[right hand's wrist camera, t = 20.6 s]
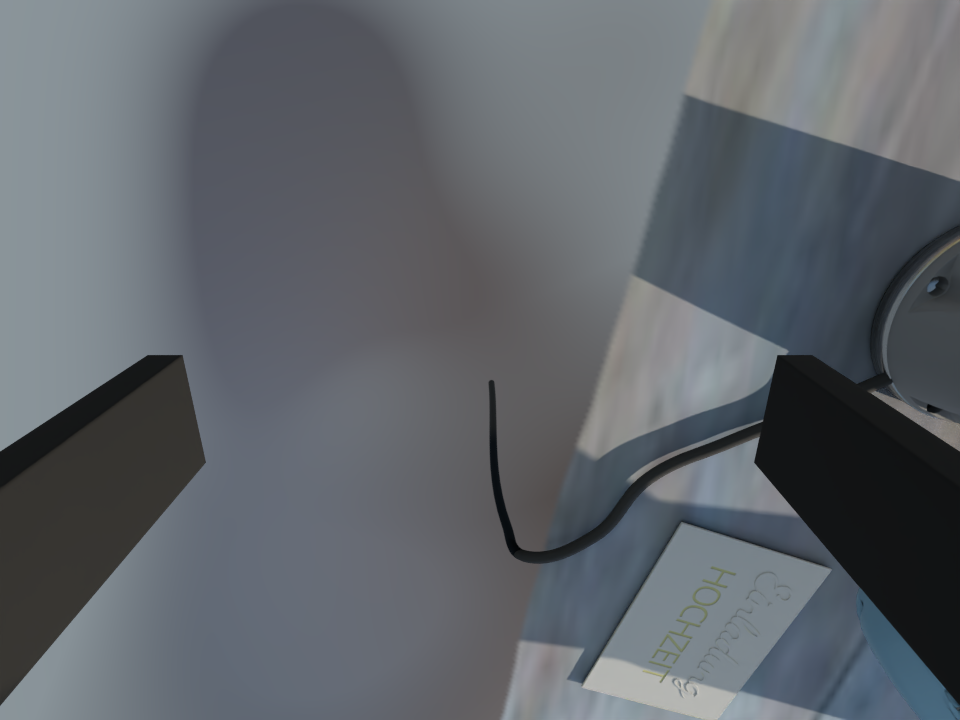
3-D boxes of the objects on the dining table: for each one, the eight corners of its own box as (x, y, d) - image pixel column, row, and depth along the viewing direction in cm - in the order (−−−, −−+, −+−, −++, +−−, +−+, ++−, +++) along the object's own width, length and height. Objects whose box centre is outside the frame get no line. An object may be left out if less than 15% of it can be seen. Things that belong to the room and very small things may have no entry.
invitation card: (682, 523, 47) (832, 570, 49) (681, 521, 47) (830, 568, 49) (581, 688, 55) (715, 723, 57) (581, 685, 55) (714, 720, 57)
